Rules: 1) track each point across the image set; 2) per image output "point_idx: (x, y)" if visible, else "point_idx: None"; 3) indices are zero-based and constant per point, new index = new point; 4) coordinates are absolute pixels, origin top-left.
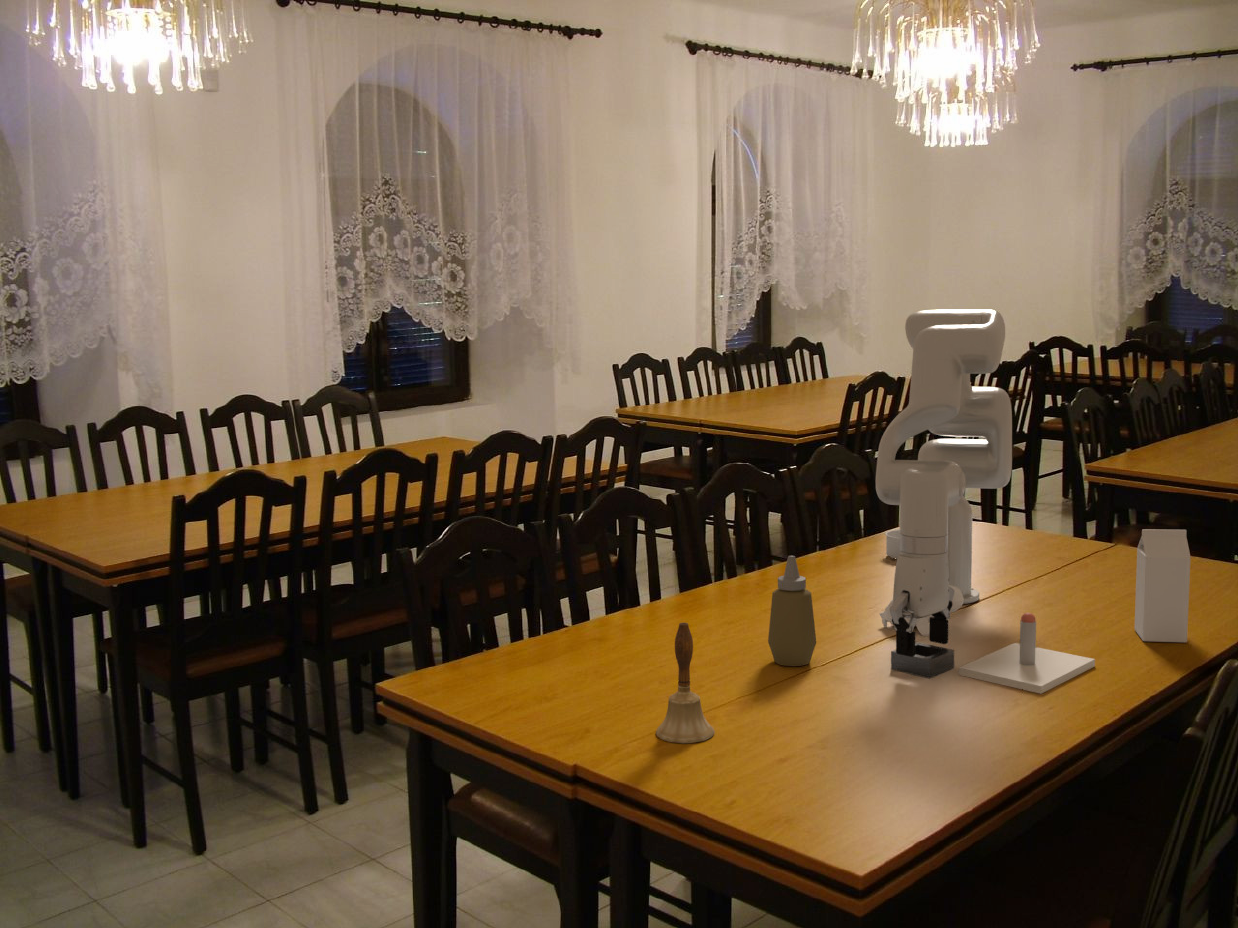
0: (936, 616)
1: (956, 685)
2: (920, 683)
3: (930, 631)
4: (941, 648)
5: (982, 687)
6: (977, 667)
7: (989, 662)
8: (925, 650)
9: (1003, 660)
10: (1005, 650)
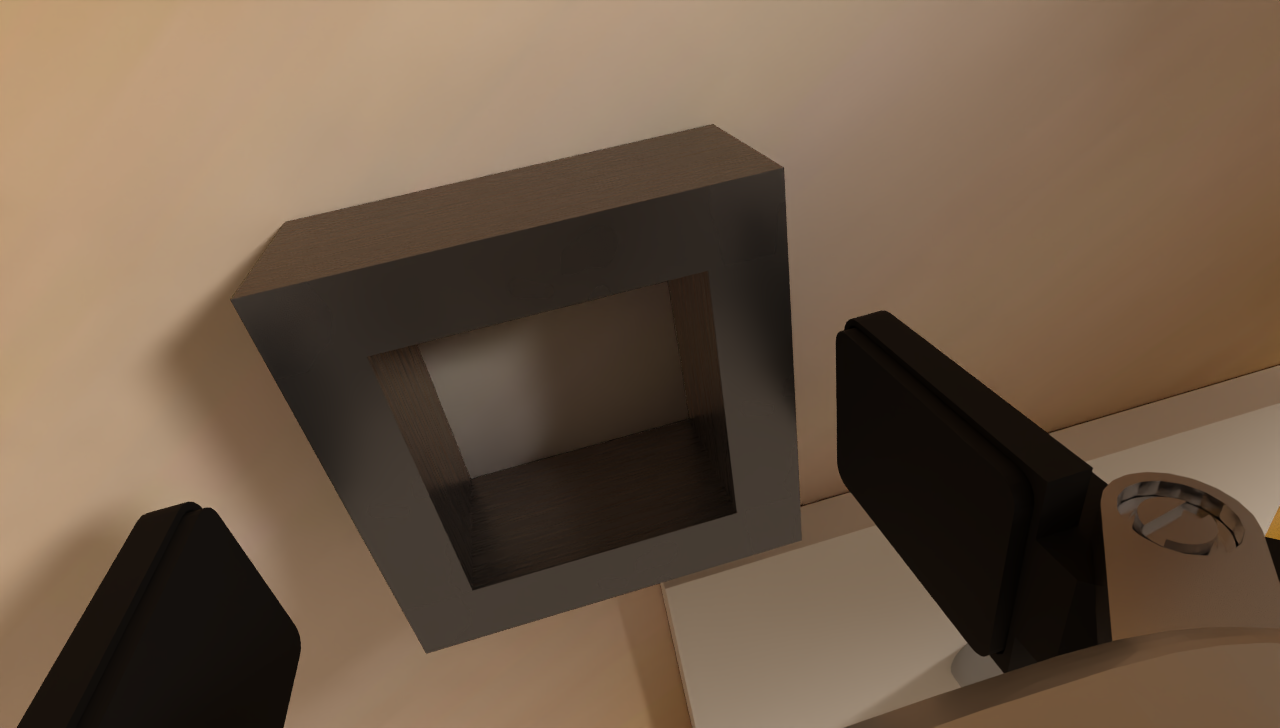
0: (1053, 602)
1: (486, 668)
2: (296, 579)
3: (894, 394)
4: (768, 468)
5: (582, 720)
6: (750, 625)
7: (882, 585)
8: (705, 332)
9: None
10: (1155, 467)
